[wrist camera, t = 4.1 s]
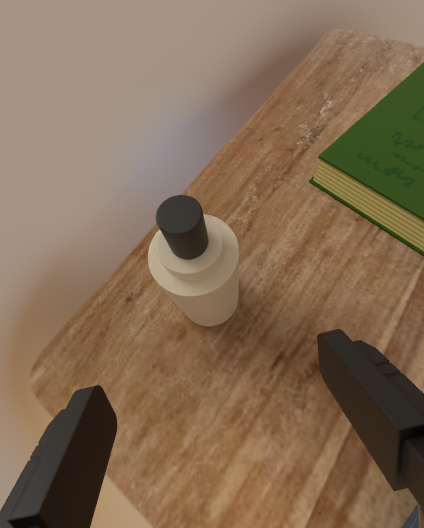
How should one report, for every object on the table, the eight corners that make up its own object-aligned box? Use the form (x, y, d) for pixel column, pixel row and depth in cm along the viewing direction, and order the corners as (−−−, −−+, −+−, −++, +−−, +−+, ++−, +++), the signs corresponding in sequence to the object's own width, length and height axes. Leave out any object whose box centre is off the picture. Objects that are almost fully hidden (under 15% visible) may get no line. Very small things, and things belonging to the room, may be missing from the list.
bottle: (207, 339, 23) (169, 296, 10) (169, 296, 25) (97, 214, 12) (250, 298, 24) (265, 212, 11) (211, 260, 26) (186, 150, 13)
